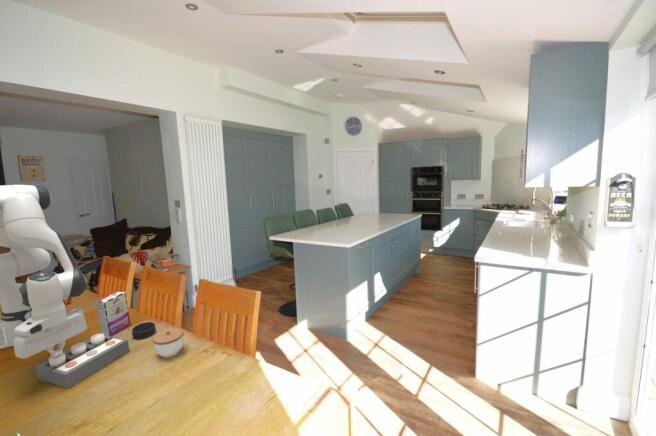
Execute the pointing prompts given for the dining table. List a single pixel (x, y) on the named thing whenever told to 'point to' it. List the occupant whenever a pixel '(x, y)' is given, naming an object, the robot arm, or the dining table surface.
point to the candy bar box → (113, 313)
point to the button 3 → (97, 339)
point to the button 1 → (57, 360)
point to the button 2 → (78, 349)
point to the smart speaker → (143, 330)
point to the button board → (83, 362)
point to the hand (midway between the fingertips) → (57, 355)
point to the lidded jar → (168, 342)
